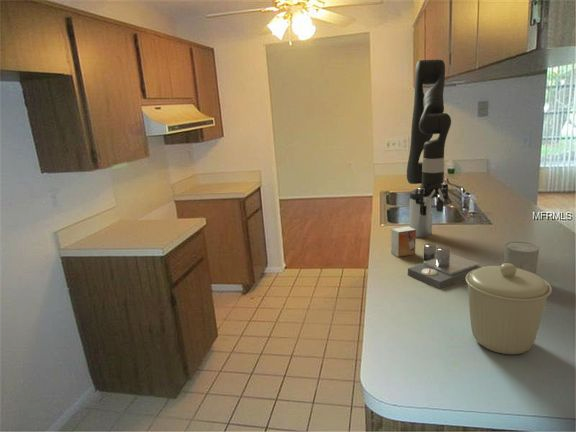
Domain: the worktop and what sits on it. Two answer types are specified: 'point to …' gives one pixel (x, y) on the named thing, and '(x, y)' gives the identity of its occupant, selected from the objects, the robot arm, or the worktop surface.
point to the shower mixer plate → (453, 265)
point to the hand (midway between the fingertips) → (431, 213)
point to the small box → (403, 241)
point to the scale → (437, 275)
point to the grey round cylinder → (522, 255)
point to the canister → (506, 307)
